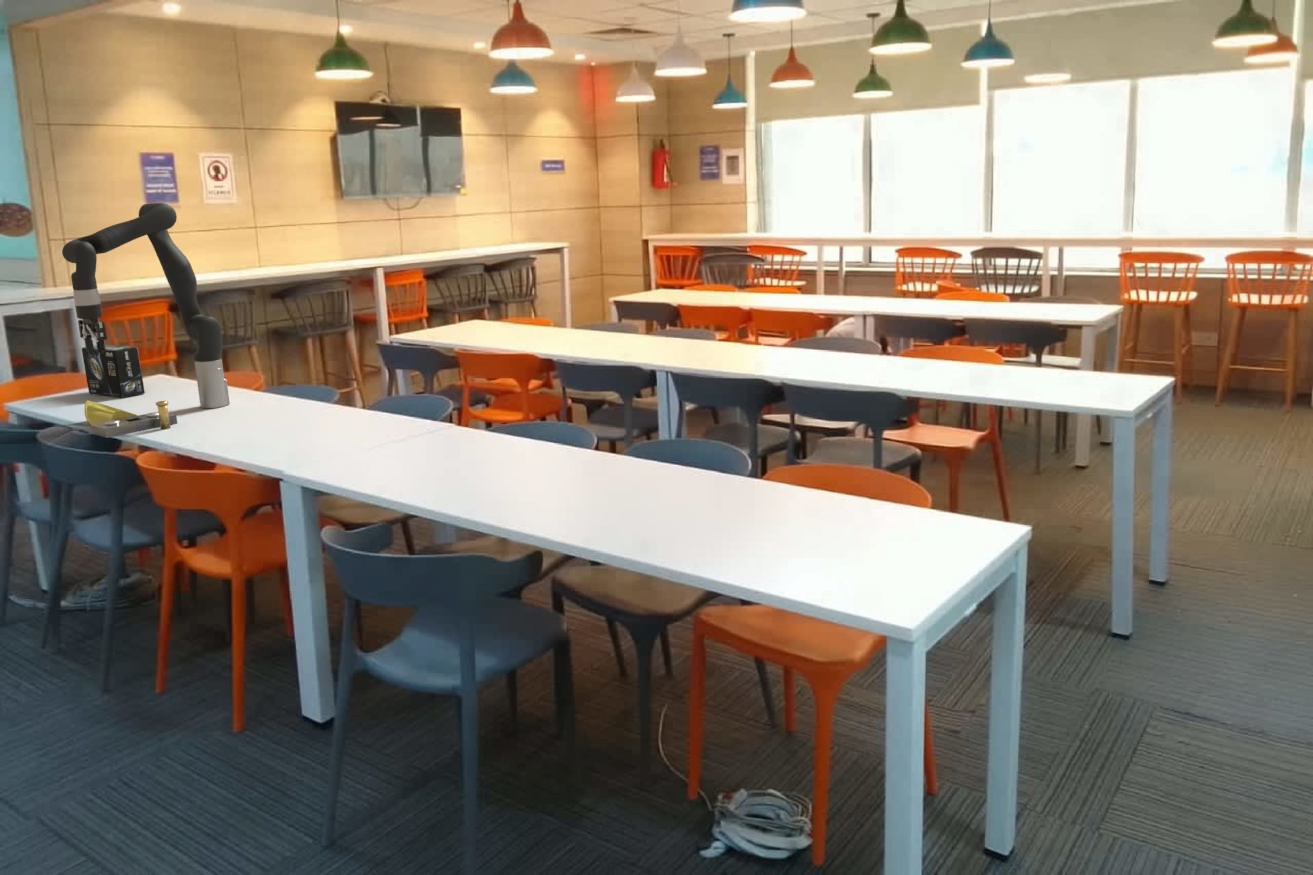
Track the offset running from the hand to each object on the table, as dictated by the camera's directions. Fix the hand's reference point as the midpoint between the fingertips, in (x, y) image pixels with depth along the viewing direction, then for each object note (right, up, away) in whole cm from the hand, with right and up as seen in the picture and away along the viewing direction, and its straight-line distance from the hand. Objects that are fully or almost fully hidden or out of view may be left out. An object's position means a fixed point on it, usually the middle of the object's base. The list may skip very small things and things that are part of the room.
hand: (96, 352), depth 348 cm
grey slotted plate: (+9, -25, +7) cm, 28 cm away
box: (-29, -11, +69) cm, 76 cm away
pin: (+20, -25, +6) cm, 33 cm away
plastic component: (-4, -23, +17) cm, 29 cm away
